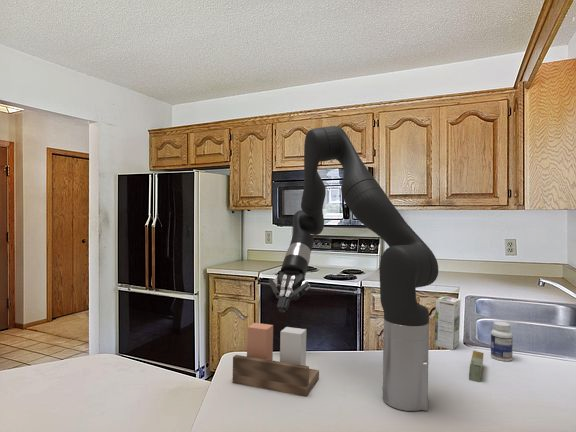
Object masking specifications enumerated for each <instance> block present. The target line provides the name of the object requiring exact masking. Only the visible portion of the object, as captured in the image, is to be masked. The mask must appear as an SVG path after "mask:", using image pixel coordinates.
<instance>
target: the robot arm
mask: <svg viewBox="0 0 576 432" xmlns="http://www.w3.org/2000/svg"><path fill="white" fill-rule="evenodd" d="M303 145H304V147H303V152H304V153H303V158H304V159H303V171H304V172H303V180H304V181H303V191H302V194H301V195H302V196H301V203H300V208H301V209H300V210H298V211H296V212H295V213H294V214H293V217H292V236H291V241H290V243H289V246H288V249H287V250H286V253H285V256H284V258H283V262H282V265H281V269H280V272H279V274H278V275H277V276H276V278H269V279H268V283H269V285H270V287H271V289H272V291H273V293H274V295H275V297H276V299H278V301H277V304H276V307H277V310H278V311H279V313H285V312H286V311H288V309H289V305H290V303H291V301H293V300H294V301H297V300H298V299H300V298H301V297H302V296H304V295H305V294H306V293H307V292H309V291H310V290H311V285H310V283H309V281H306V278H305V277H306V274H307V271H308V267H309V265H310V260H311V254H312V250H313V246H314V241H315V239H314V236H317V235H320V234H321V233H322V232H323V230H324V227H325V218H324V210H323V209H324V208H323V207H324V204H325V200H326V192H327V191H326V189H327V188H326V186H325V183H324V181H323V179H322V178H321V176H320V173H319V171H318V166H319V163H320V162H326V161H333V160H334V161H335V160H336V161H338V162H339V164H340V165H341V167H342V169H343V175H342V176H343V177H342V181H341V196H342V199H343V200H344V203H345V204H346V207H348V209H349V211H350V212H351V214H352V215H353V217H355V218H356V220H357V221H358V222H359V223H361V224H363V226H364V227H366V228H367V229H369V230H370V231H371V232H373V233H374V234H375V235H377V236H378V237H380V238H381V239H382V240H383V241H384V242H385V243H386V244H387V245H388V247H387V248H386V249H385V250H384V251H383V253H382V255H381V258H380V262H379V295H380V296H379V297H380V305H381V308H382V310H383V337H382V338H383V340H382V341H383V345H382V349H383V350H382V387H381V389H382V396H381V397H382V400H383V402H384V403H385V404H386V405H388V406H389V407H392V408H394V409H398V410H401V411H405V412H406V411H407V412H408V411H409V412H416V411H424V412H425V411H426V412H427V411H428V402H429V401H428V399H429V397H428V395H429V392H428V391H429V339H430V337H429V336H430V335H429V334H430V333H429V331H430V310H429V309H428V308H427V307H426V306H424V305H422V304H419V303H418V301H417V292H416V291H417V288H423V287H426V286H429V285H430V286H431V285H432V284H433V283H434V282H435V281H436V280H437V278H438V275H439V263H438V261H437V258H436V255H435V254H434V253H433V251H432V249H431V248H430V246H428V244H426V242H424V241H423V239H422V238H421V237H420V236H419V235H418V234H417V233H416V232H415V231H414V230H413V229H412V227H411V226H410V225H409V224H408V222H407V221H406V220H405V219H404V218H403V216H402V214H401V213H400V212H399V210H398V209H397V208H396V206H395V205H394V204H393V203H392V201H391V200H390V198H389V196H388V195H387V194H386V193H385V191H384V189H383V188H382V187H381V185H380V184H379V182H378V181H377V179H376V178H375V177H374V176H373V174H372V173H371V172H370V170H369V169H368V167H366V165H365V164H364V162H363V160H362V159H361V158H360V155H359V154H358V152H357V150H356V149H355V146H354V145H353V143H352V141H351V140H350V138H349V135H347V133H346V132H345V130H344V129H343V128H342V127H341V126H338V125H330V126H329V125H328V126H324V127H323V126H322V127H321V126H320V127H314V128H311V129H308V131H307V132H306V135H305V138H304V144H303ZM278 284H279V286H280V291H279V290H278V288H277V287H278Z"/></svg>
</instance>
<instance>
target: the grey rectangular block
mask: <svg viewBox="0 0 576 432" xmlns="http://www.w3.org/2000/svg"><path fill="white" fill-rule="evenodd" d="M279 342H280V346H279V348H280V349H279V362H285V363H291V364H298V365H304V366H307V364H306V363H307V328H298V327H290V326H285V327H284V328H283V329H281V330H280V340H279Z"/></svg>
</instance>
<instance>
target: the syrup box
mask: <svg viewBox="0 0 576 432" xmlns="http://www.w3.org/2000/svg"><path fill="white" fill-rule="evenodd" d="M460 323H461V299H459V298H456V297H451V296H441V297H439V298H438V297H437V299H435V314H434V342H433V345H434V347H438V348H444V349H448V350H452V351H453V350H455V349H456V348H457V347H459V345H460V325H461V324H460Z"/></svg>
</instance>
